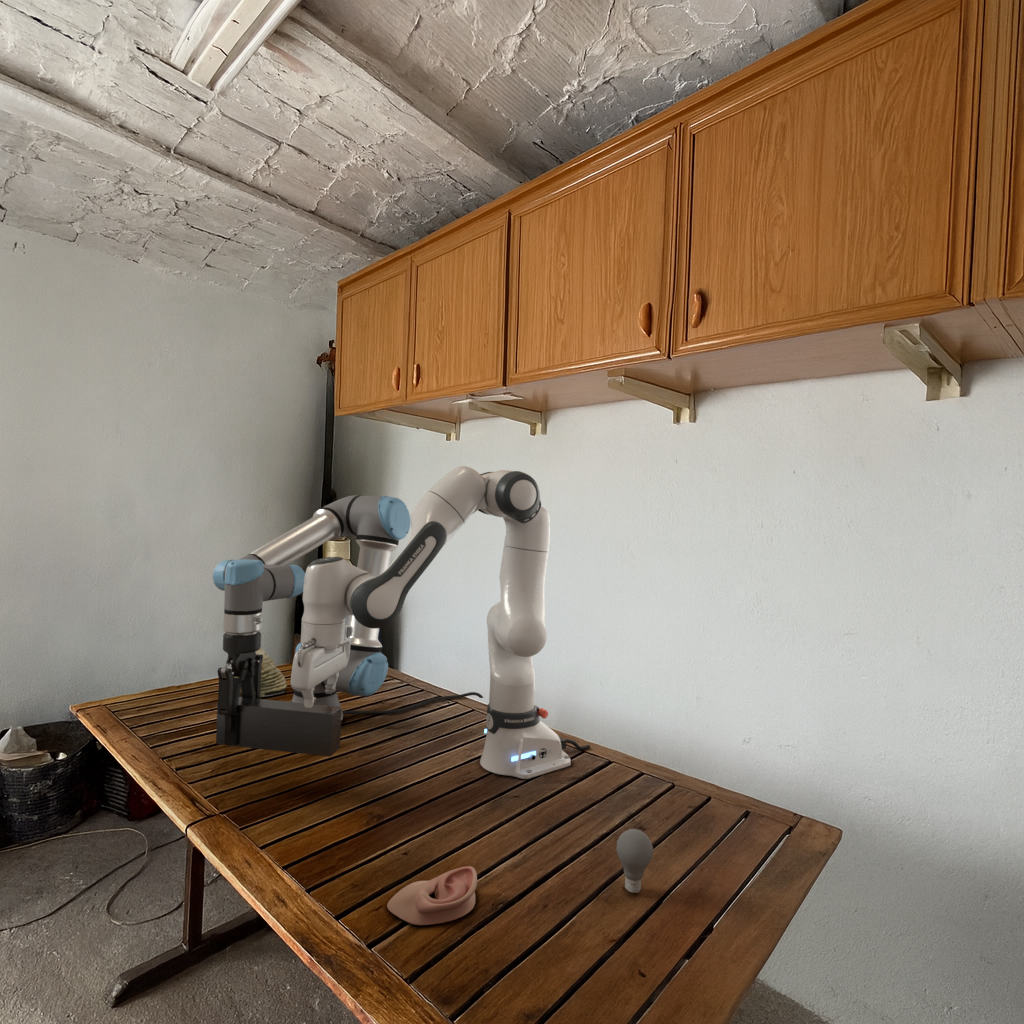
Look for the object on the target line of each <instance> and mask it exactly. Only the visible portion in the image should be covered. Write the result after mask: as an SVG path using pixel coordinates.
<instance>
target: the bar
mask: <svg viewBox="0 0 1024 1024" xmlns="http://www.w3.org/2000/svg"><path fill="white" fill-rule="evenodd" d="M342 708H343V707H342V706H341V707H338V706H327V705H317V704H315V705H314V706H313V707H312V708H306V707H305V706H304V703H297V702H292V701H285V700H275V699H265V698H263V699H262V698H259V699H256V698H245V697H239V701H238V707H237V713H236V714H239V732H238V745H236V746H234V745H228V746H231V747H240V748H249V749H256V750H265V751H266V750H267V751H275V752H285V753H293V754H302V755H312V756H321V757H332V756H333V755H334V754H335V753H336V752H337V751H338V750H339V749H341V733H342V732H341V731H342V723H341V709H342ZM342 710H343V709H342ZM224 736H225V715H221V714H218V702H217V703H216V731H215V744H216V745H221V746H226V745H225V744H224Z"/></svg>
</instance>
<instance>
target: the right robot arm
mask: <svg viewBox="0 0 1024 1024" xmlns="http://www.w3.org/2000/svg"><path fill="white" fill-rule="evenodd" d="M541 501H542V500H541V494H540V489H539V484H538V483H537V482H536V480H535V479H534V478H533V477H532V476H531V475H530V474H527V473H526V472H522V471H520V470H508V469H505V470H504V469H502V470H497V471H487V472H483V473H479V472H478V471H477V470H476V469H474V468H472V467H470V466H466V465H461V466H460V465H459V466H457V467H455V468H454V469H452V470H450V471H449V472H448V473H447V474H445V475H444V476H443V477H442V478H440V479H439V480H438V481H437V482H435V484H434V485H433V486H432V487H431V488H430V489H429V490H428V491H427V492H426V493H425V494H424V495H423V496H422V497H421V499H420V500H419V501H418V503H416V505H415V507H414V509H413V510H412V512H411V513H410V528H411V533H410V537H409V539H408V542H407V543H406V544H405V546H404V547H403V549H402V550H401V551H400V552H399V553H398V555H397V556H396V557H395V558H394V560H392V562H390V565H389V567H388V568H387V569H386V570H385V571H384V572H383V573H381V574H380V575H376V574H373V573H370V572H367V571H364V570H362V569H359V568H357V566H355V565H354V564H352V563H350V562H349V561H348V560H346V559H345V558H344V557H341V556H327V557H322V558H317V559H314V560H312V562H310V563H309V564H308V565H307V567H306V570H305V572H304V573H305V578H304V586H303V592H302V603H303V614H302V617H301V628H300V629H301V630H300V643H302V644H301V648H300V649H299V650H298V651H297V652H296V651H295V652H296V654H294V655H293V661H292V667H291V676H290V687H291V688H292V690H293V691H294V690H302V694H303V697H304V706H305V707H306V708H312V707H313V706H314V705H315V704H316V702H315V701H316V697H314V694H313V691H314V688H315V686H316V685H318V684H319V683H321V682H323V681H324V680H326V679H327V678H328V680H327V685H325V693H326V694H332V693H334V692H335V687H336V682H337V679H338V676H339V671H341V670H342V669H344V668H346V667H347V664H348V661H349V655H350V642H351V641H350V637H351V636H352V634H353V627H351V626H348V624H346V617H349V615H354V617H355V618H356V620H357V621H358V622H359V623H360V624H361V625H363V626H365V627H368V628H374V629H377V628H379V629H383V628H385V627H388V626H389V625H391V624H392V623H394V622H395V621H396V619H397V618H398V617H399V615H400V613H401V612H402V609H403V606H404V604H405V601H406V598H407V596H408V594H409V592H410V590H411V589H412V588H413V586H414V585H415V584H416V582H417V581H418V580H419V578H420V577H421V576H422V575H423V574H424V572H425V571H426V570H427V568H428V567H429V566H430V565H431V563H432V562H433V561H434V560H435V558H436V557H437V555H438V554H439V553H440V551H441V550H442V549H443V548H444V547H445V545H446V544H447V543H448V542H449V541H450V540H451V539H452V538H453V537H454V536H455V535H456V534H457V532H459V530H460V529H461V528H462V527H463V526H464V525H465V524H466V522H467V521H468V520H469V519H470V518H471V517H472V515H473V514H475V513H476V512H477V511H478V512H480V513H481V514H485V515H489V516H493V517H497V518H502V519H503V521H504V524H505V536H504V541H503V549H502V556H501V563H500V570H499V576H498V577H499V578H498V579H499V587H500V588H499V589H500V601H498V602H496V603H494V605H492V606H491V607H490V608H489V610H488V612H487V615H486V626H487V627H486V628H487V649H488V661H489V673H490V674H489V696H488V703H487V705H486V718H485V719H486V721H485V723H486V728H484V730H483V731H484V732H483V734H486V735H485V740H484V741H485V742H484V745H483V749H482V753H481V756H480V759H479V765H480V766H481V767H482V768H483V769H484V770H486V771H488V772H490V773H492V774H496V775H500V776H501V775H502V776H508V777H509V776H510V777H515V778H519V779H522V780H529V779H532V778H535V777H538V776H541V775H545V774H547V773H551V772H555V771H557V770H561V769H564V768H567V767H570V766H571V765H572V763H571V762H572V761H571V758H570V756H569V755H568V754H567V753H566V752H565V751H564V750H566V749H567V744H570V745H573V746H574V747H575V749H577V750H578V751H586V750H589V749H591V745H590V744H586V745H583V746H580V745H579V744H578V742H577V741H575V740H573V739H569V738H564V737H563V736H560V735H559V734H557V733H556V732H555V731H554V730H553V729H552V728H551V727H549V726H548V725H547V724H546V723H544V721H541V719H540V718H542V719H547V718H548V717H549V711H548V710H547V709H545V708H543V707H541V708H540V707H539V706H538V705H535V696H536V695H535V693H536V671H535V668H534V661H533V656H535V655H537V654H538V653H540V652H541V651H542V650H543V648H544V647H545V645H546V642H547V640H548V638H547V637H548V632H547V628H546V621H545V620H546V619H545V618H546V608H545V607H546V606H545V605H546V604H545V603H546V602H545V582H546V574H547V573H546V572H547V567H548V559H549V552H550V542H551V520H550V519H551V518H550V513H549V511H548V510H547V509H546V508H545V507H543V506H542V502H541Z"/></svg>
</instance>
